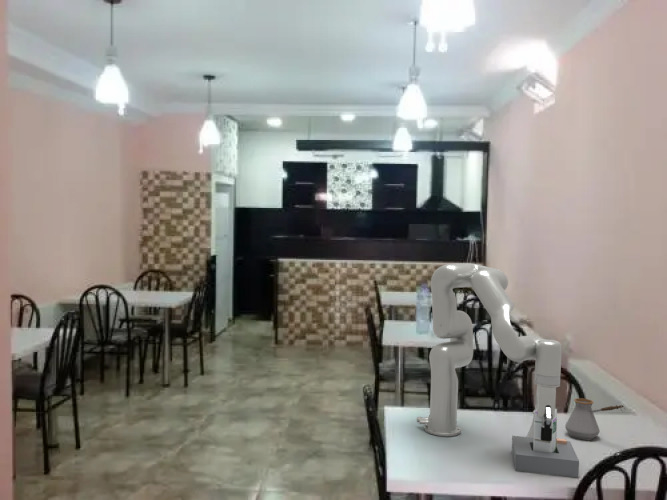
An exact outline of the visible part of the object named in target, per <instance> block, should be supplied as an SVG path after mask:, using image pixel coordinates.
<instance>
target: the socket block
mask: <svg viewBox="0 0 667 500" xmlns="http://www.w3.org/2000/svg"><path fill="white" fill-rule="evenodd" d="M511 455H512V459H513V460H512V461H513V466H514V471H515V472H522V471H523V473H532V474H540V475H549V476H559V477H567V478H568V477H569V478H577V479H578V478H579V475H580V474H579V473H580V470H579V469H580V460H579V458H578V455H577V454H576V451H575V449H574V447H573V445H572V442H571V441H569V440H567V439H565V438H557V437H556V453H550V452H541V451H533V438H531V437H526V436H519V435H512V439H511Z"/></svg>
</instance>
